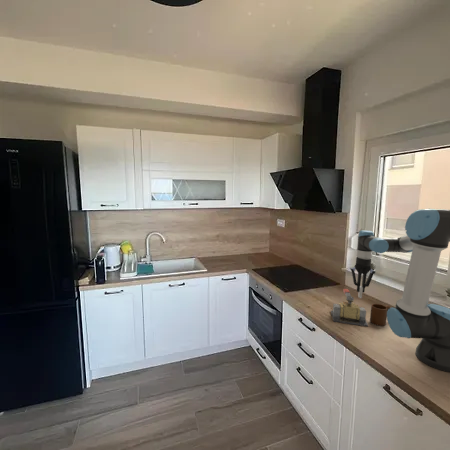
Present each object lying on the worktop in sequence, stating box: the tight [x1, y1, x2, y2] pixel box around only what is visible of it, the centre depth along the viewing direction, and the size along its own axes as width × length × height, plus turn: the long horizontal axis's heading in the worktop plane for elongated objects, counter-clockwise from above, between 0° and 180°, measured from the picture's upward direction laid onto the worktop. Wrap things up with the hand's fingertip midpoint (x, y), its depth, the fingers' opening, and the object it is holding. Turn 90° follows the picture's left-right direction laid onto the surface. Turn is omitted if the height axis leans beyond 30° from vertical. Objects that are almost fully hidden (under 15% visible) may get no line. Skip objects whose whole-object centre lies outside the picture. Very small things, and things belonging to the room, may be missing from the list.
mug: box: [369, 303, 391, 327], centre depth 140 cm, size 12×8×9 cm, turn 111°
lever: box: [342, 288, 355, 303], centre depth 148 cm, size 16×4×2 cm, turn 164°
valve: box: [330, 301, 369, 328], centre depth 143 cm, size 12×17×10 cm
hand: (359, 297), depth 148 cm, fingers closed
